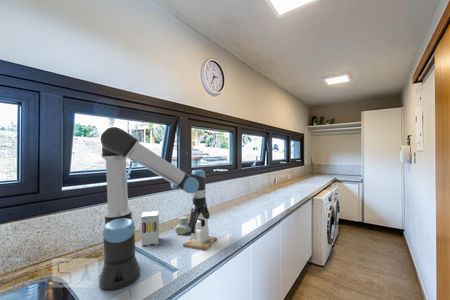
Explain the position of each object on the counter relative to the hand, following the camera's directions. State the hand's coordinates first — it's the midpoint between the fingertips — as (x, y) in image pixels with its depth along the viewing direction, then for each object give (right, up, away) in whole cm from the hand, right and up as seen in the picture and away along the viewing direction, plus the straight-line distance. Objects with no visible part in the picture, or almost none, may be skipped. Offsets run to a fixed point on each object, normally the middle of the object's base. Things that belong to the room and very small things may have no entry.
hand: (200, 234), depth 116 cm
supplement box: (-30, -6, +3) cm, 31 cm away
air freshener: (-13, -6, +16) cm, 21 cm away
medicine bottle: (0, -4, 0) cm, 4 cm away
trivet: (0, -5, 0) cm, 5 cm away
